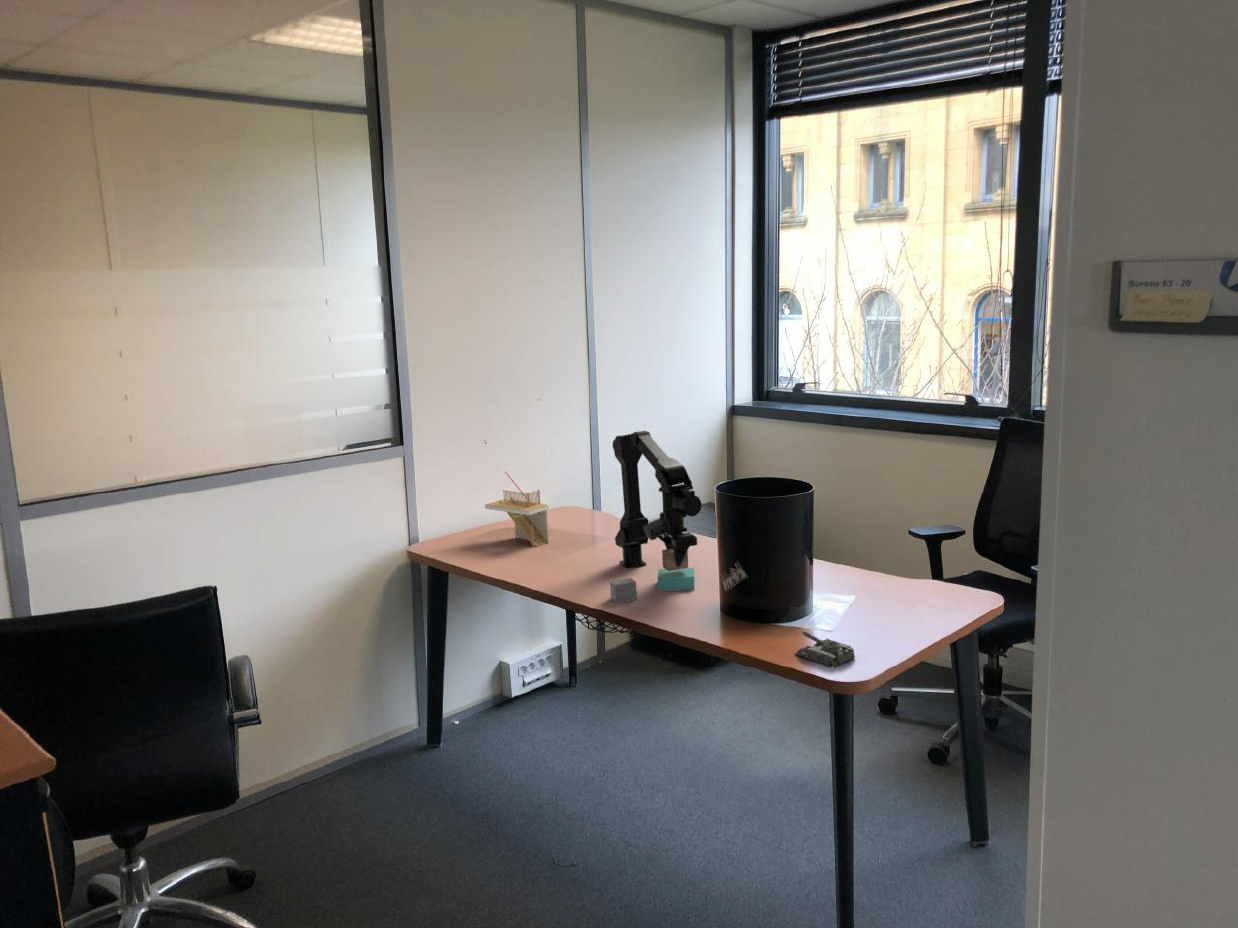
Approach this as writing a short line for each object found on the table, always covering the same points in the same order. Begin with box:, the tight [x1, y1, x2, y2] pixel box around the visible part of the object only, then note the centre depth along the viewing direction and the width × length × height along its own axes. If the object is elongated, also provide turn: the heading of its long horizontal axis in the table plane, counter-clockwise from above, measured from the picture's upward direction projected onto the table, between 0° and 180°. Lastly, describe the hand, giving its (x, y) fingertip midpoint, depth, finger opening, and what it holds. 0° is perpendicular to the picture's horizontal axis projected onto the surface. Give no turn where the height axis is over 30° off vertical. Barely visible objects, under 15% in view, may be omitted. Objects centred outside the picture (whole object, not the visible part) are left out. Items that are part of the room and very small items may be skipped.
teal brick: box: [657, 567, 696, 591], centre depth 269 cm, size 8×10×4 cm
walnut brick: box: [661, 548, 689, 571], centre depth 268 cm, size 4×6×5 cm, turn 109°
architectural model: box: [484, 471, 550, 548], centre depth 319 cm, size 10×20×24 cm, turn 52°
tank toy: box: [794, 631, 856, 668], centre depth 214 cm, size 12×10×5 cm
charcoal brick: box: [609, 577, 638, 604], centre depth 260 cm, size 4×6×5 cm, turn 109°
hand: (675, 563), depth 268 cm, fingers closed on walnut brick, 4 cm apart
